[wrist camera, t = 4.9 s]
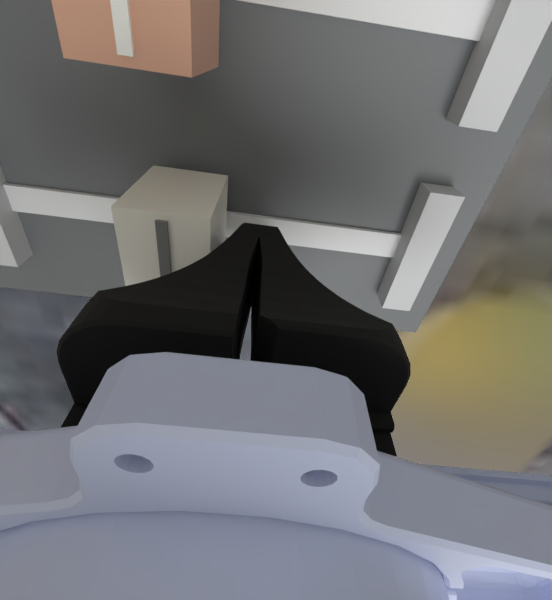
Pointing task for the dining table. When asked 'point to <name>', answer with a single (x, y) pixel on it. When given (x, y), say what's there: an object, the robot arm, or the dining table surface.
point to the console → (277, 138)
